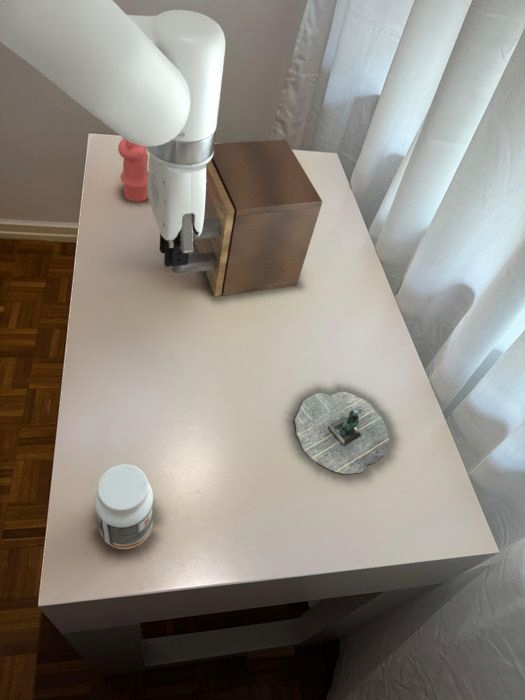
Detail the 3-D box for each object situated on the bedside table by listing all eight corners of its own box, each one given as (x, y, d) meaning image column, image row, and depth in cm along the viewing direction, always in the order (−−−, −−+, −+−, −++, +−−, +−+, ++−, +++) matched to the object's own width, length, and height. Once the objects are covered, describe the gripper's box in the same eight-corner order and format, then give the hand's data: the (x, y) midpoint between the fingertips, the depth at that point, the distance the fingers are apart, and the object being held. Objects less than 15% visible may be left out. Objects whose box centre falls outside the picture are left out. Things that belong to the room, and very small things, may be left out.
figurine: (120, 182, 96) (117, 98, 84) (151, 185, 97) (153, 101, 85) (119, 202, 93) (116, 117, 81) (151, 204, 94) (152, 120, 82)
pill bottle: (162, 513, 63) (165, 474, 55) (134, 560, 60) (133, 526, 52) (117, 490, 64) (114, 448, 56) (87, 535, 60) (79, 498, 53)
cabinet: (222, 295, 84) (236, 209, 72) (197, 232, 92) (206, 143, 79) (297, 285, 88) (322, 201, 76) (267, 224, 96) (285, 139, 83)
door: (174, 302, 82) (180, 215, 70) (152, 235, 89) (154, 147, 77) (221, 295, 84) (234, 210, 72) (195, 231, 92) (204, 144, 79)
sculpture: (395, 414, 77) (405, 423, 69) (365, 475, 77) (372, 490, 69) (314, 375, 78) (315, 379, 70) (285, 435, 78) (282, 446, 70)
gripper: (132, 99, 67) (134, 222, 81) (164, 184, 58) (159, 304, 73) (195, 97, 69) (185, 217, 84) (234, 179, 61) (216, 296, 75)
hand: (173, 257), depth 78 cm, fingers closed on door, 2 cm apart
